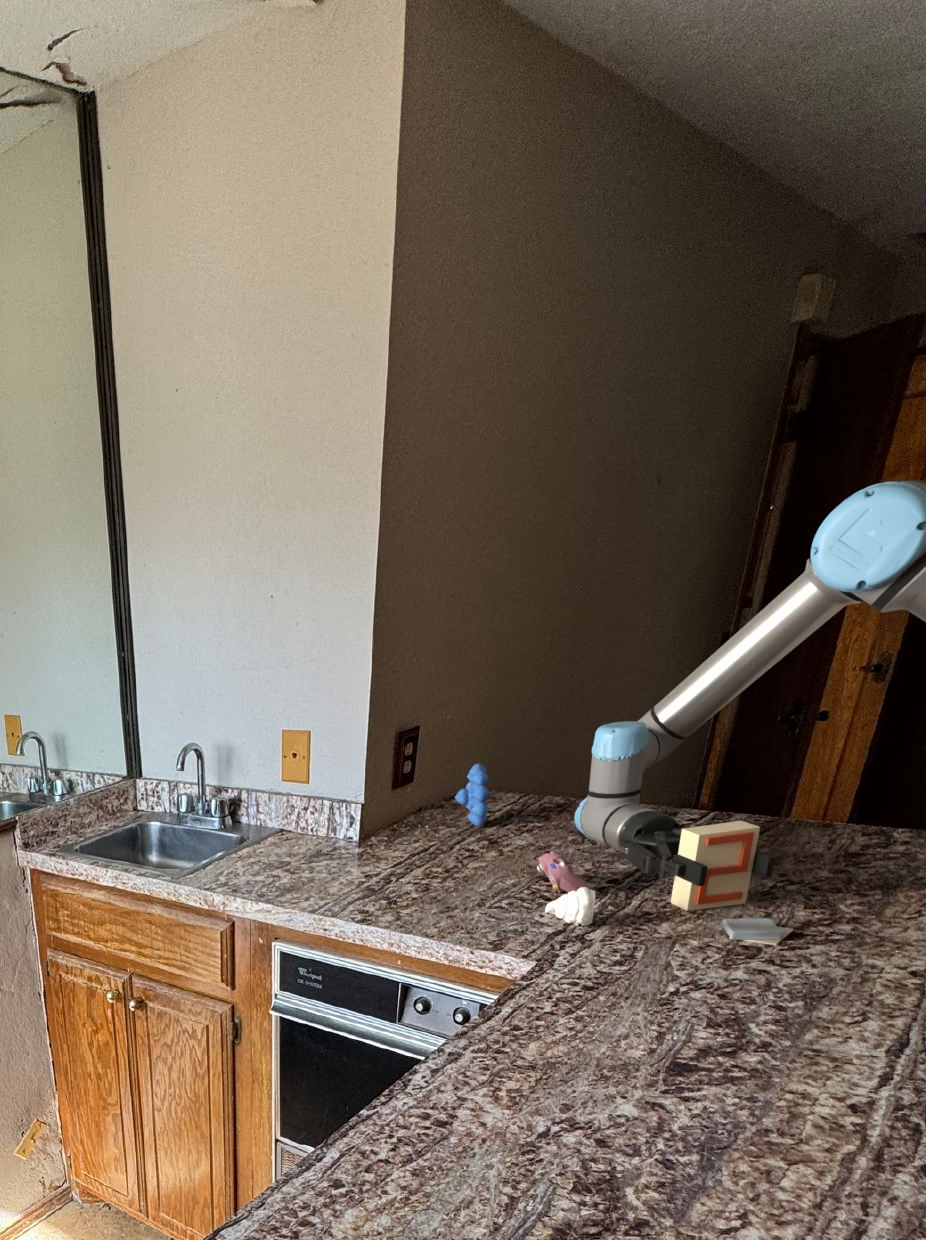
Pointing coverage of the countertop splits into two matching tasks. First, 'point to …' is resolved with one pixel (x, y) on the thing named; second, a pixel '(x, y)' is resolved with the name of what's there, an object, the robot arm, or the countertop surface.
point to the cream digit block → (717, 864)
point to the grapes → (475, 795)
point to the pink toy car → (560, 873)
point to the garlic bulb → (574, 906)
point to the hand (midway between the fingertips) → (736, 871)
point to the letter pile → (755, 930)
